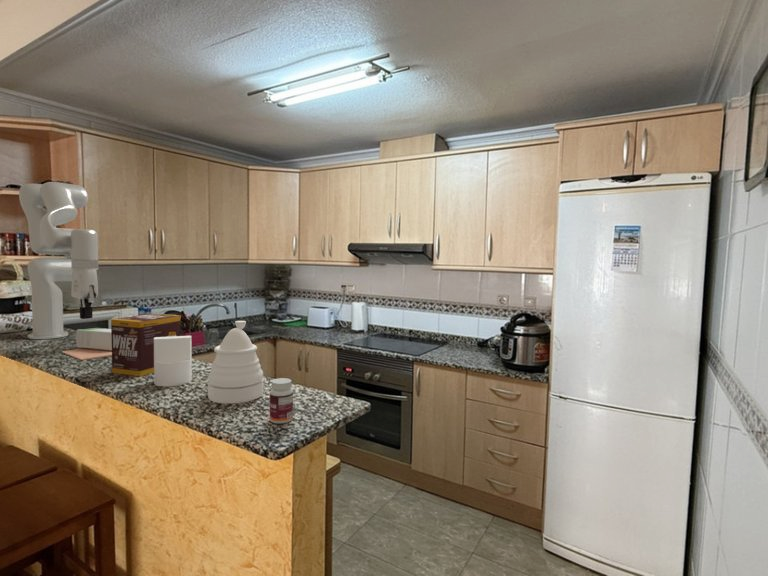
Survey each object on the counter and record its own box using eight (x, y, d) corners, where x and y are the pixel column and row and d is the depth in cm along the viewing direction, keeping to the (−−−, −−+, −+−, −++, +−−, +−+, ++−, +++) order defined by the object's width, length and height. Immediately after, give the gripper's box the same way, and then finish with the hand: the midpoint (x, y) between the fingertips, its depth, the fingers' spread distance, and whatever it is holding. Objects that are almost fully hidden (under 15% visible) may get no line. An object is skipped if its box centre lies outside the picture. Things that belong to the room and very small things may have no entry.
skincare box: (96, 327, 152) (133, 329, 149) (95, 345, 152) (132, 348, 149) (75, 329, 144) (113, 331, 141) (74, 348, 144) (113, 350, 141)
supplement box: (110, 373, 118) (109, 318, 117) (155, 361, 132) (154, 312, 131) (139, 377, 115) (138, 321, 114) (181, 364, 129) (181, 314, 128)
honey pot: (226, 384, 110) (226, 317, 109) (271, 388, 108) (272, 320, 106) (196, 400, 97) (196, 325, 96) (247, 405, 95) (247, 328, 94)
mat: (61, 352, 140) (61, 351, 140) (104, 346, 151) (104, 345, 151) (81, 360, 130) (81, 359, 130) (126, 353, 141) (126, 352, 141)
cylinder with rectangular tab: (191, 375, 118) (191, 333, 117) (191, 384, 109) (191, 339, 109) (155, 378, 114) (155, 335, 113) (152, 387, 106) (152, 341, 105)
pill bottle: (266, 417, 88) (267, 379, 87) (288, 414, 90) (288, 376, 90) (273, 425, 84) (273, 385, 83) (295, 421, 86) (296, 382, 86)
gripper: (63, 264, 143) (65, 317, 144) (81, 265, 135) (82, 321, 136) (88, 264, 149) (89, 315, 150) (106, 265, 141) (107, 319, 142)
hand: (86, 318), depth 143 cm, fingers closed
